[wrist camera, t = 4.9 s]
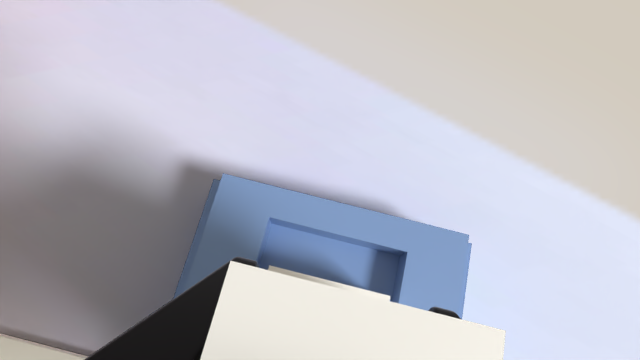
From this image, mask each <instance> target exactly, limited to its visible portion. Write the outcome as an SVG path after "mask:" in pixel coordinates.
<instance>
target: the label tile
mask: <svg viewBox="0 0 640 360" xmlns="http://www.w3.org/2000/svg"><path fill="white" fill-rule="evenodd" d="M87 357H89V356H85V355H81V354H77V353H73V352H69V351H66V350H62V349H58V348H54V347H50V346H46V345H43V344H39V343H35V342H31V341H27V340H24V339H20V338H16V337H12V336H8V335H4V334H0V360H84V359H86V358H87Z"/></svg>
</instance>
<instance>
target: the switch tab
mask: <svg viewBox="0 0 640 360" xmlns="http://www.w3.org/2000/svg"><path fill="white" fill-rule="evenodd" d="M505 333H506V331H505V330H501V329H497V328H493V327H489V326H485V325H481V324H477V323H473V322H469V321H466V320H462V319H458V318H454V317H450V316H446V315H442V314H438V313H434V312H430V311H426V310H422V309H418V308H414V307H411V306H407V305H403V304H399V303H395V302H391V301H390V296H388V295H384V294H380V293H376V292H372V291H369V290H365V289H361V288H357V287H353V286H349V285H345V284H341V283H337V282H333V281H329V280H325V279H321V278H317V277H314V276H310V275H306V274H302V273H298V272H294V271H290V270H286V269H282V268H278V267H274V266H270V265H269V268H268V270H265V269H261V268H257V267H253V266H250V265H246V264H242V263H238V262H234V261H230V264H229V267H228V271H227V274H226V277H225V280H224V284H223V287H222V290H221V293H220V297H219V300H218V303H217V306H216V310H215V313H214V316H213V319H212V323H211V326H210V329H209V332H208V336H207V339H206V342H205V346H204V349H203V352H202V355H201V359H200V360H503V353H504V343H505Z"/></svg>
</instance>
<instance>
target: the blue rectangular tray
mask: <svg viewBox="0 0 640 360" xmlns="http://www.w3.org/2000/svg"><path fill="white" fill-rule="evenodd" d="M468 239H469V235H467V234H463V233H459V232H455V231H451V230H447V229H443V228H439V227H435V226H431V225H427V224H423V223H419V222H415V221H411V220H407V219H403V218H399V217H395V216H391V215H387V214H383V213H379V212H375V211H371V210H367V209H364V208H360V207H356V206H352V205H348V204H344V203H340V202H336V201H332V200H328V199H324V198H320V197H316V196H312V195H308V194H304V193H300V192H296V191H292V190H288V189H284V188H280V187H276V186H272V185H268V184H264V183H260V182H256V181H252V180H248V179H244V178H240V177H236V176H232V175H228V174H224V173H223V175H222V178H221V181H220V180H216V179H214V180H213V183H212V186H211V189H210V192H209V195H208V198H207V201H206V204H205V207H204V210H203V212H202V215H201V218H200V221H199V224H198V227H197V230H196V233H195V236H194V239H193V242H192V245H191V248H190V251H189V254H188V257H187V260H186V262H185V265H184V268H183V271H182V274H181V277H180V280H179V283H178V286H177V289H176V292H175V295H174V298H176V297H177V296H178V295H180V294H181V293H183V292H184V291H186V290H187V289H189V288H190V287H192V286H193V285H195V284H196V283H198V282H199V281H201V280H202V279H203V278H205V277H206V276H208V275H209V274H211V273H212V272H214V271H215V270H217V269H218V268H220V267H221V266H223V265H224V264H226V263H227V262H229V261H230V260H231V259H233V258H235V257H243V258H247V259H251V260H255V261H257V262H258V264H259V268H261V269H265V270H268V268H269V265H270V266H274V267H278V268H282V269H286V270H290V271H294V272H298V273H302V274H306V275H310V276H314V277H317V278H321V279H325V280H329V281H333V282H337V283H341V284H345V285H349V286H353V287H357V288H361V289H365V290H369V291H372V292H376V293H380V294H384V295H388V296H390V301H391V302H395V303H399V304H403V305H407V306H411V307H414V308H418V309H422V310H426V311H428V310H429V309H430V308H431V307H439V308H443V309H447V310H451V311H454V312H455V313H456V314H457V315H458V316H459V317H460V318H461V319H462V314H463V306H464V299H465V291H466V283H467V276H468V268H469V260H470V253H471V245H472V244H471V243H468ZM174 298H173V299H174Z"/></svg>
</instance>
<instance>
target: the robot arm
mask: <svg viewBox="0 0 640 360" xmlns="http://www.w3.org/2000/svg"><path fill="white" fill-rule="evenodd" d="M230 261H234V262H238V263H242V264H246V265H250V266H253V267H257V268H259V264H258V262H257V261H255V260H251V259H247V258H243V257H235V258H233V259H231V260H230ZM230 261H229V262H227V263H226V264H224V265H223V266H221V267H220V268H218V269H217V270H215V271H214V272H212V273H211V274H209V275H208V276H206V277H205V278H203V279H202V280H201V281H199V282H198V283H196V284H195V285H193V286H192V287H190V288H189V289H187V290H186V291H184V292H183V293H181V294H180V295H178V296H177V297H176V298H174V299H173V300H171V301H170V302H168V303H167V304H165V305H164V306H162V307H161V308H159V309H158V310H156V311H155V312H153V313H152V314H151V315H149V316H148V317H146V318H145V319H143V320H142V321H140V322H139V323H137V324H136V325H134V326H133V327H131V328H130V329H128V330H127V331H126V332H124V333H123V334H121V335H120V336H118V337H117V338H115V339H114V340H112V341H111V342H109V343H108V344H106V345H105V346H103V347H102V348H101V349H99V350H98V351H96V352H95V353H93V354H92V355H90V356H89V357H87V358H86V359H84V360H200V359H201V355H202V352H203V349H204V346H205V342H206V339H207V336H208V332H209V329H210V326H211V323H212V319H213V316H214V313H215V310H216V306H217V303H218V300H219V297H220V293H221V290H222V287H223V284H224V280H225V277H226V274H227V271H228V267H229V264H230ZM428 311H430V312H434V313H438V314H442V315H446V316H450V317H454V318H458V319H461V318H460V317H459V316H458V315H457V314H456V313H455V312H454V311H451V310H447V309H443V308H439V307H431V308H430V309H429V310H428Z"/></svg>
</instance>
